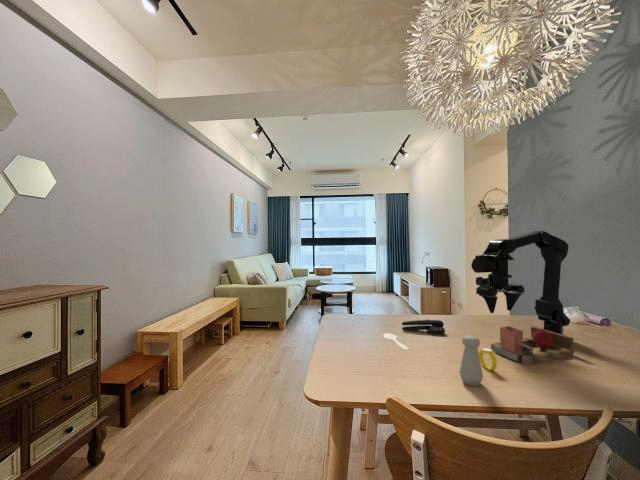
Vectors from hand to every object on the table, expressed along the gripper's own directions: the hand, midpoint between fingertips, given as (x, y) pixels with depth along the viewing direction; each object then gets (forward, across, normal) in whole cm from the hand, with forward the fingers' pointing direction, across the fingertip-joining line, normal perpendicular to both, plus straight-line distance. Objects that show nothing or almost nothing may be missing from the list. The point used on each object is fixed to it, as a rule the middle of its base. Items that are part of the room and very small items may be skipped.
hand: (500, 311), depth 106 cm
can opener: (+12, +20, -21) cm, 31 cm away
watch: (+12, +24, +14) cm, 30 cm away
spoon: (+12, +38, -15) cm, 42 cm away
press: (+11, +8, +10) cm, 17 cm away
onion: (+12, -7, +11) cm, 18 cm away
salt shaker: (+12, +36, +19) cm, 43 cm away
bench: (+12, -1, +11) cm, 16 cm away
